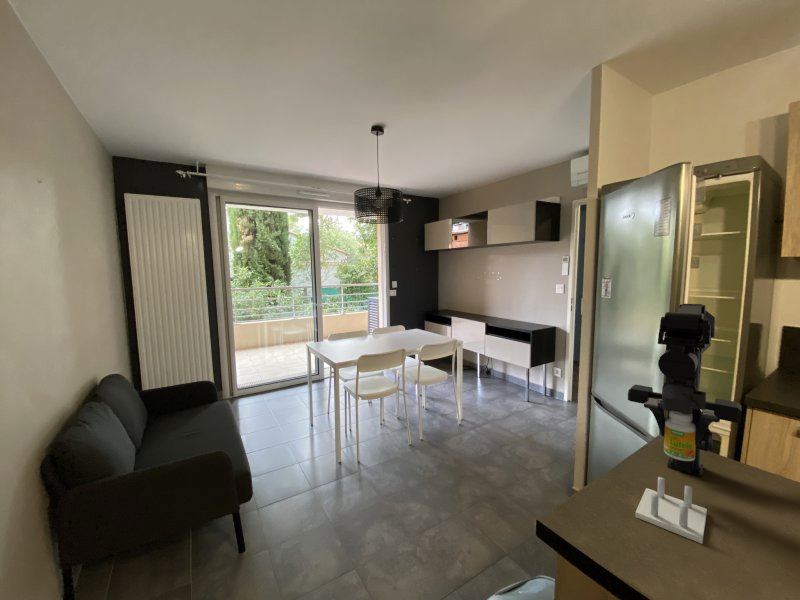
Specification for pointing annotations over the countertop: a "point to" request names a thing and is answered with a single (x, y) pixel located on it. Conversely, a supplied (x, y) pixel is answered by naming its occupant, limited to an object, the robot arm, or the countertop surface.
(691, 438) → the supplement bottle
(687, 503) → the pin tray
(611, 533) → the countertop surface
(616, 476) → the countertop surface
